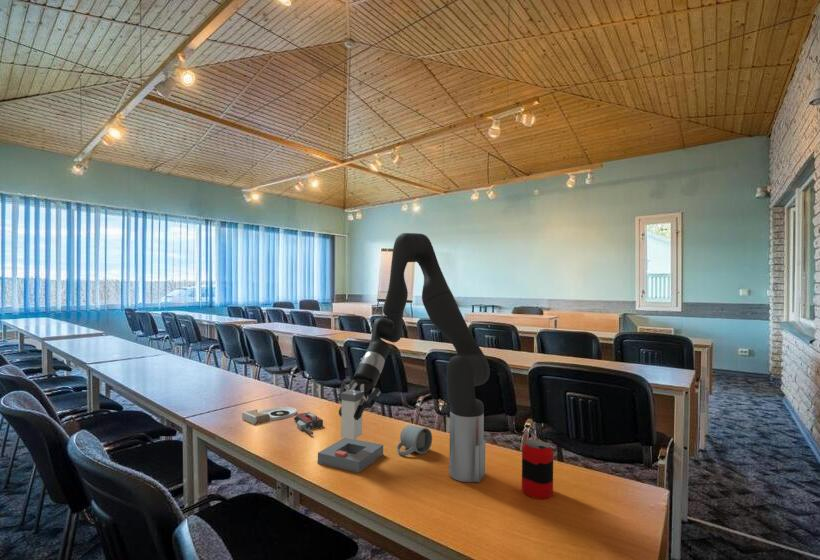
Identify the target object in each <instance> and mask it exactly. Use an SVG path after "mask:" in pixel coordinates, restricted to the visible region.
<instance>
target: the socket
mask: <svg viewBox="0 0 820 560" xmlns="http://www.w3.org/2000/svg"><path fill="white" fill-rule="evenodd" d="M383 455H384V444H382V443H381V444H380V443H376V442H370V441H367V440H362V439H357V438H356V439H354V440H353V439H348V438H343V437H342V438H341V439H340V440H338V441H336V442H334V443H332V444H331V445H329V446H327V447H326V448H324V449H322V450H321V451H319V452H317V464H319V465H324V466H328V467H332V468H337V469H340V470H345V471H348V472H353V473H356V474H359V473H361V472H362V471H364V470H365V469H366V468H367V467H369V466H370V465H372V464H373V463H374V462H375V461H377V460H378V459H379V458H381V457H382V456H383Z"/></svg>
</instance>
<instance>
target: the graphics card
mask: <svg viewBox="0 0 820 560" xmlns="http://www.w3.org/2000/svg"><path fill="white" fill-rule="evenodd" d="M297 412H298V411H297V409H296V408H295V407H290V406H281V407H280V406H279V407H278V406H277V407H273V408H270V409H269V408H268V409H263V410H259V411H258V409H253V410H248V411H243V412H242V413H241V420H242V419H243V421H245V420H246V421H245V422H247V421H248V422H247V423H249V422H250V423H249V424H251V423H252V425H254V424H255V425H258V423H259V424H262V422H263V423H266V421H267V422H269V421H270V422H271V421H272V420H274V421H278V419H279V420H283V419H285V418H286V417H287V418H290V417H293V416H294V417H295V416H296V415H297V414H298V413H297ZM282 418H283V419H282Z"/></svg>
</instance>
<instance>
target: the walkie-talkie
mask: <svg viewBox="0 0 820 560" xmlns="http://www.w3.org/2000/svg"><path fill="white" fill-rule="evenodd" d="M293 420H294V421H295V422H296V428H297V429H298V430H299V431H305V432H306V433H307V434H309V435H314V432H313V431H312V430H313V429H319V428H322V427H324V420H323V419H322V418H321V417H319V416H318V415H316V414H315V413H313V412H310V411H306V412H301V413H296V414H295V416H294V417H293Z"/></svg>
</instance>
